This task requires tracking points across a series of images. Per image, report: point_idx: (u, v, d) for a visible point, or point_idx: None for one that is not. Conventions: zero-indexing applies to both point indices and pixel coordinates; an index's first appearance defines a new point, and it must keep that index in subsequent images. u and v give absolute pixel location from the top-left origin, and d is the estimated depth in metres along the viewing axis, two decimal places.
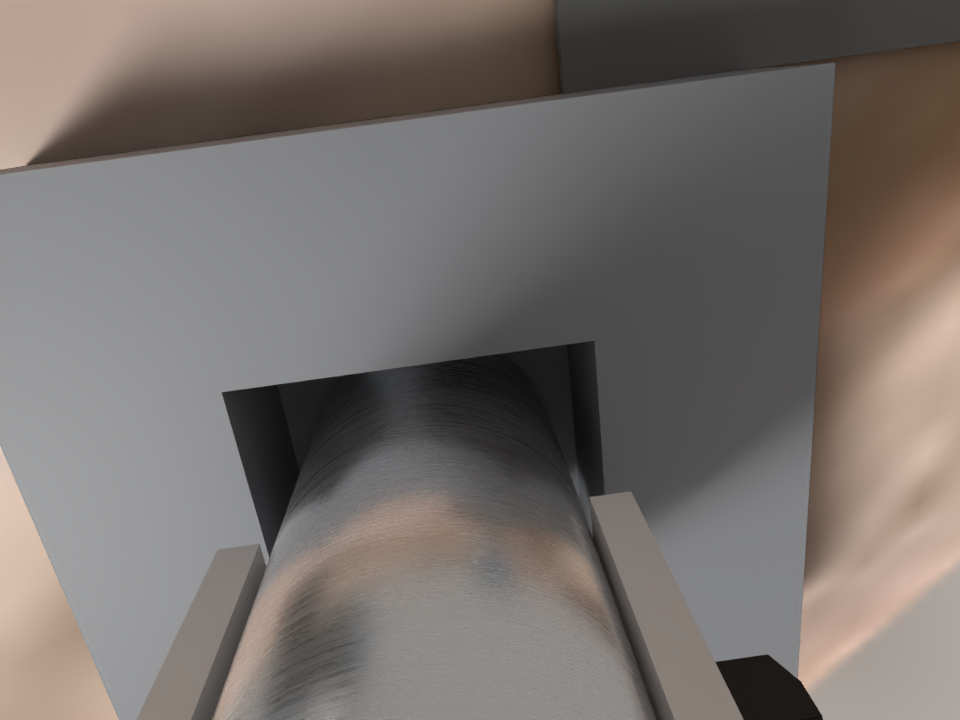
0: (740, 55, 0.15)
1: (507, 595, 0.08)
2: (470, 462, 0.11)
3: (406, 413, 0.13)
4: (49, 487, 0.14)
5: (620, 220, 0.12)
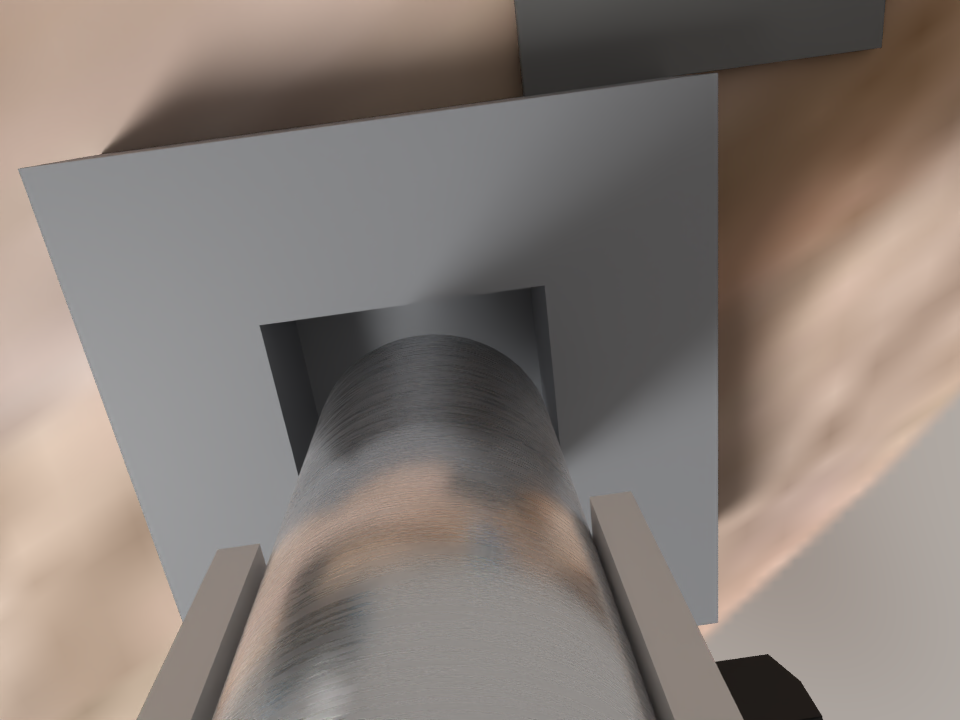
0: (663, 65, 0.19)
1: (506, 596, 0.08)
2: (470, 462, 0.11)
3: (406, 413, 0.13)
4: (126, 401, 0.18)
5: (562, 192, 0.16)
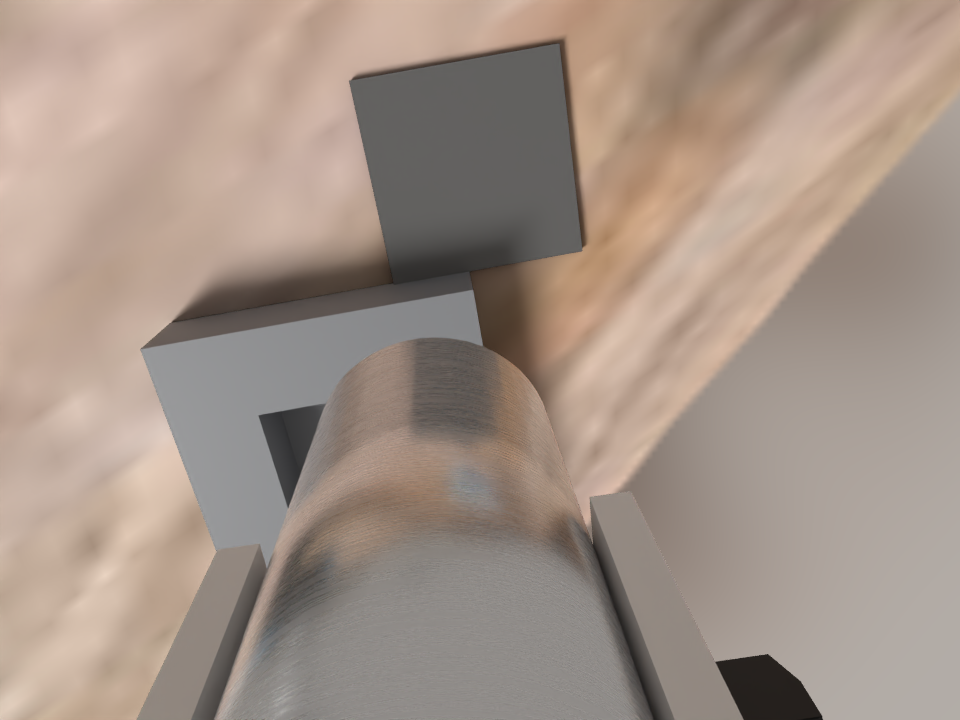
0: (466, 266, 0.36)
1: (505, 601, 0.08)
2: (470, 466, 0.11)
3: (406, 417, 0.13)
4: (192, 455, 0.35)
5: None
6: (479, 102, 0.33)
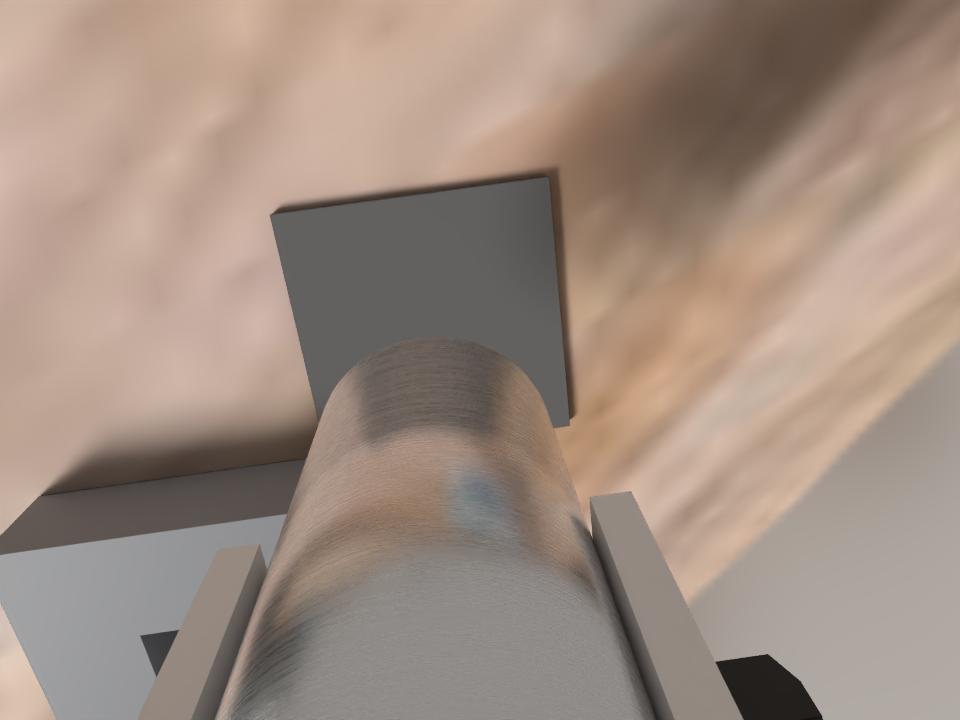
0: None
1: (508, 600, 0.08)
2: (471, 465, 0.11)
3: (406, 416, 0.13)
4: (53, 679, 0.27)
5: None
6: (441, 246, 0.25)
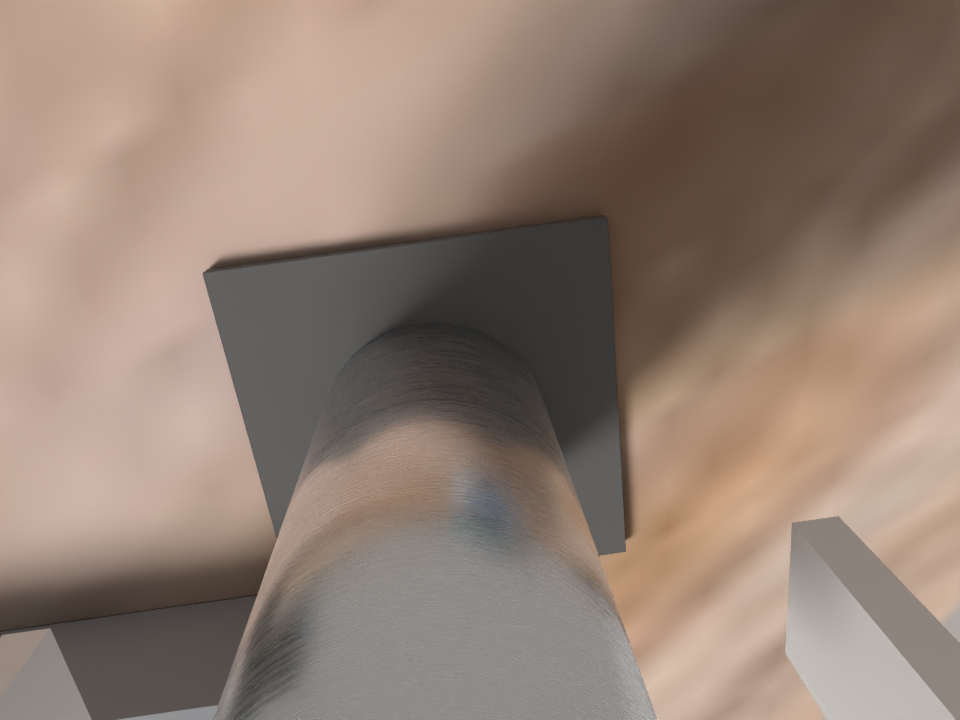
0: None
1: (500, 546, 0.09)
2: (467, 434, 0.12)
3: (408, 392, 0.13)
4: None
5: None
6: (451, 315, 0.17)
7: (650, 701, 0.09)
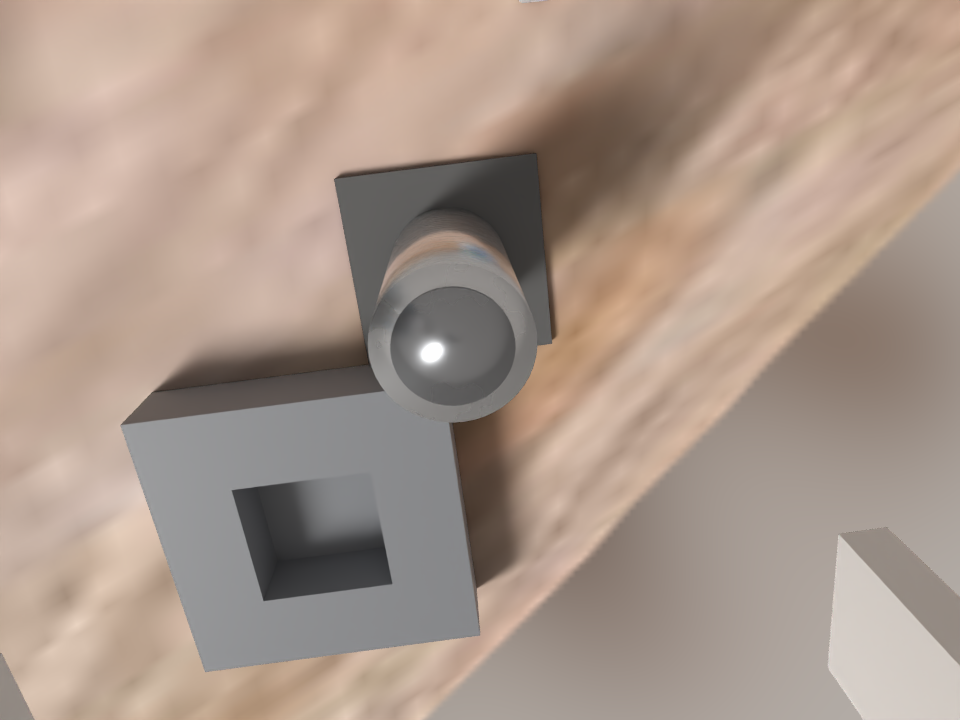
0: None
1: (475, 249, 0.26)
2: (464, 232, 0.29)
3: (438, 223, 0.30)
4: (166, 524, 0.36)
5: (374, 432, 0.35)
6: (457, 203, 0.34)
7: None
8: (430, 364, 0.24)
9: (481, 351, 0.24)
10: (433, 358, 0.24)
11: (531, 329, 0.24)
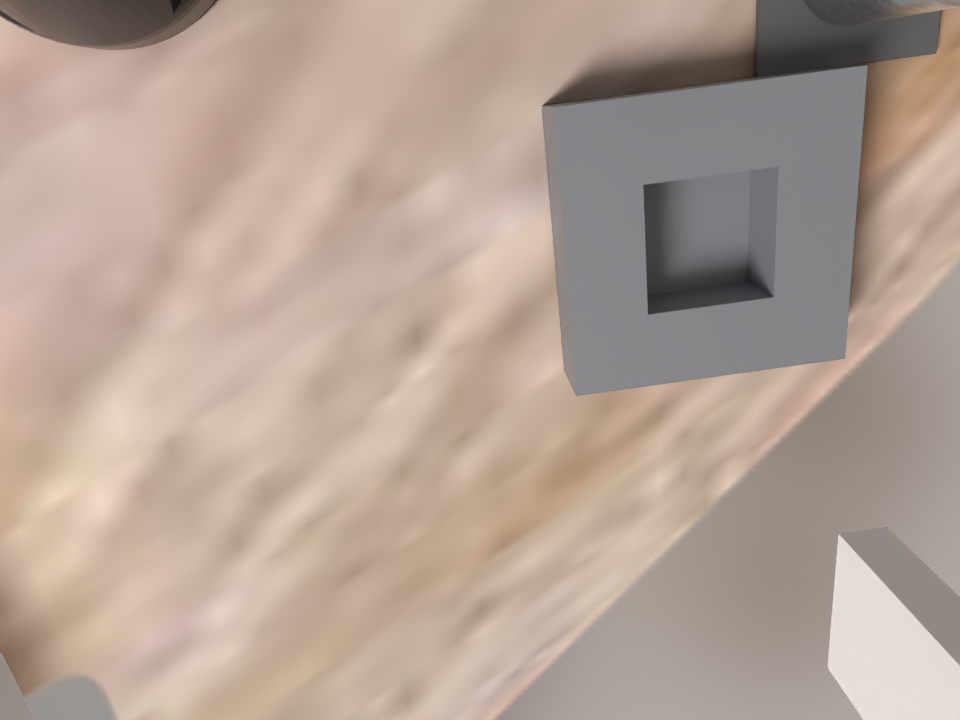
0: (827, 62, 0.38)
1: None
2: None
3: None
4: (573, 223, 0.36)
5: (792, 120, 0.35)
6: None
7: None
8: None
9: None
10: None
11: None
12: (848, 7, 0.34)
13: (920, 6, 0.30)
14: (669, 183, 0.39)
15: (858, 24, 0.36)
